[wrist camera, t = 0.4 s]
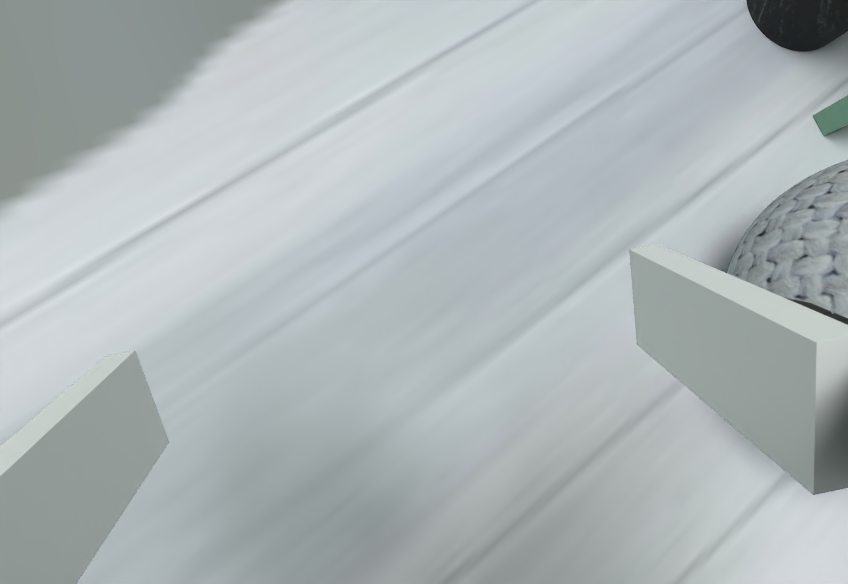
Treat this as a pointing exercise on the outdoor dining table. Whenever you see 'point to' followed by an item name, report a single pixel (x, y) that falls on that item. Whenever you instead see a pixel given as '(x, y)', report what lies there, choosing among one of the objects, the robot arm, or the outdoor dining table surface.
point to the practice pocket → (833, 117)
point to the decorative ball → (801, 243)
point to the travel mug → (800, 21)
